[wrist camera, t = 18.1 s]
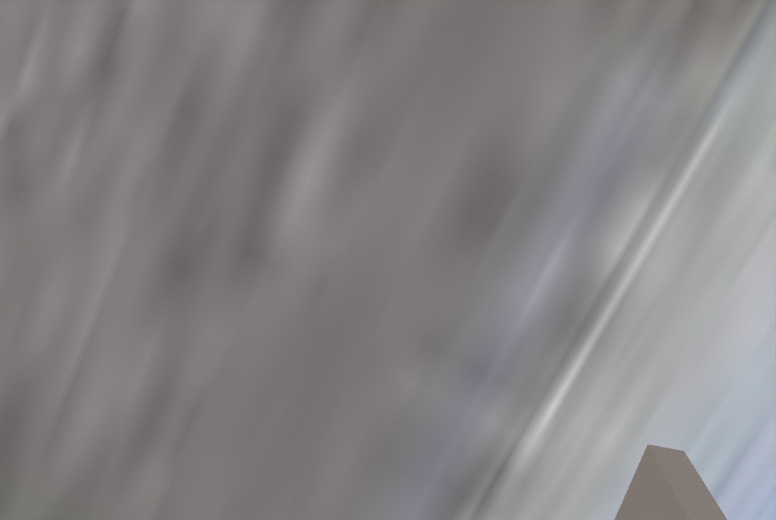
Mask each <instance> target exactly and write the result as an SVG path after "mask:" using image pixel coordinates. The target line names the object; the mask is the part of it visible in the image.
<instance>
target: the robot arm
mask: <svg viewBox="0 0 776 520" xmlns="http://www.w3.org/2000/svg"><path fill="white" fill-rule="evenodd" d="M615 520H727V519H726V517H725V516H724V514H723V513H722V511H721V509H720V508H719V506H718V505H717V503H716V501H715V500H714V498H713V497H712V495H711V493H710V492H709V490H708V489H707V487H706V485H705V484H704V482H703V481H702V479H701V478H700V476H699V474H698V473H697V471H696V470H695V468H694V466H693V465H692V463H691V462H690V460H689V458H688V457H687V455H686V454H685V452H684V451H681V450H675V449H670V448H664V447H659V446H653V445H647V447H646V450H645V452H644V454H643V456H642V459H641V461H640V463H639V466H638V468H637V470H636V472H635V475H634V477H633V479H632V481H631V484H630V486H629V488H628V490H627V493H626V495H625V497H624V500H623V502H622V504H621V506H620V509H619V511H618V513H617V515H616V518H615Z"/></svg>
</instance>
